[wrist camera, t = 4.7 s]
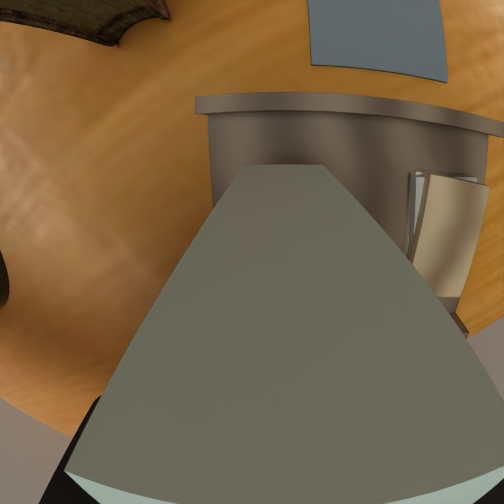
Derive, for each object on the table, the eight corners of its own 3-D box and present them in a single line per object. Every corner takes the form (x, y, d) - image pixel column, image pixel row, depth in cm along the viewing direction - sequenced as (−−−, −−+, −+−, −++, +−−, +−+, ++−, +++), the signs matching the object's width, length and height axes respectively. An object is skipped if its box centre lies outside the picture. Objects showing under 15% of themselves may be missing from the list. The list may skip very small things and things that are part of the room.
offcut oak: (400, 289, 24) (403, 295, 23) (425, 171, 20) (430, 174, 19) (455, 291, 24) (459, 297, 23) (483, 184, 20) (489, 187, 19)
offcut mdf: (403, 287, 25) (407, 293, 24) (411, 174, 21) (415, 177, 20) (458, 281, 24) (463, 286, 24) (471, 175, 20) (477, 177, 20)
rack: (225, 317, 31) (217, 350, 27) (211, 100, 23) (194, 96, 18) (446, 313, 29) (465, 341, 24) (479, 120, 21) (512, 124, 16)
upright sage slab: (251, 351, 20) (222, 579, 7) (243, 164, 15) (63, 470, 2) (311, 351, 20) (325, 580, 6) (323, 164, 15) (529, 452, 1)
